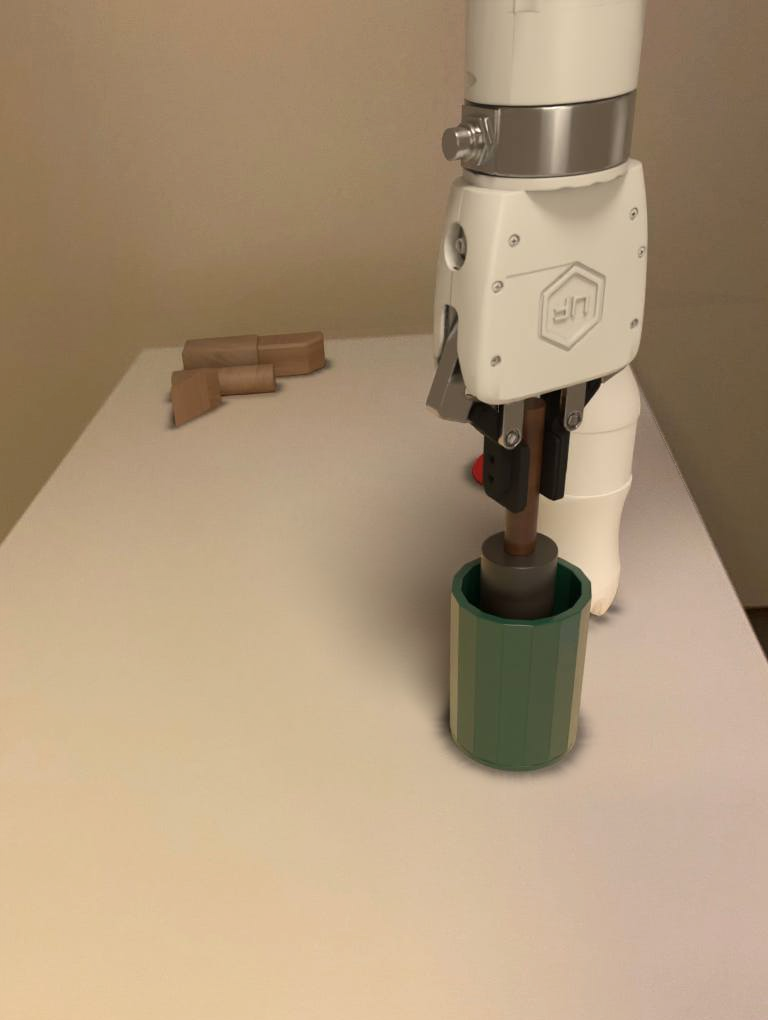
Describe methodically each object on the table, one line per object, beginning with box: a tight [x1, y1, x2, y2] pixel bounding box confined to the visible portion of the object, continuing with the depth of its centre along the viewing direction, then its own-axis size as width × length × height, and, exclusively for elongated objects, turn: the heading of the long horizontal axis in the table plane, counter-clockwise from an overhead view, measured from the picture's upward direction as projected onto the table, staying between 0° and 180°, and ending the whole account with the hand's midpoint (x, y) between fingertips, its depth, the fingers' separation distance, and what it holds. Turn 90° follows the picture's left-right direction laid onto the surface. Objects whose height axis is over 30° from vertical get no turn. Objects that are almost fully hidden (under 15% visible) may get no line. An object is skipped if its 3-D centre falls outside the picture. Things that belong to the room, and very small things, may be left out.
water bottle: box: [537, 363, 642, 617], centre depth 71 cm, size 7×7×25 cm
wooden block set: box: [169, 330, 326, 427], centre depth 117 cm, size 17×6×18 cm
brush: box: [479, 397, 558, 620], centre depth 58 cm, size 4×4×16 cm
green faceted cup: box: [449, 556, 592, 773], centre depth 63 cm, size 8×8×12 cm
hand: (523, 494), depth 56 cm, fingers closed on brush
